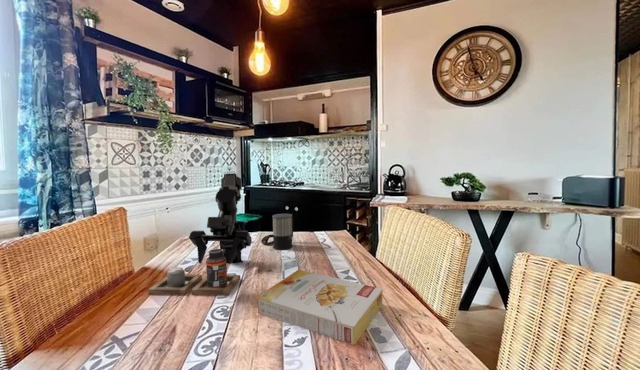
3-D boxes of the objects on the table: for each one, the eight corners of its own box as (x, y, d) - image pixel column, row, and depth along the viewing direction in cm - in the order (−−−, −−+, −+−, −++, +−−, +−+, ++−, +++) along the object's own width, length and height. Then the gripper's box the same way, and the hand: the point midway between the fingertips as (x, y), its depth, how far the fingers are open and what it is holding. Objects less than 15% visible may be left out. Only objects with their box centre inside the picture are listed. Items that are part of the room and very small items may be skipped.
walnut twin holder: (169, 281, 97) (169, 274, 97) (240, 282, 96) (240, 275, 96) (148, 297, 86) (148, 289, 86) (228, 298, 85) (228, 290, 85)
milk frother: (291, 250, 129) (291, 217, 128) (256, 250, 129) (255, 217, 128) (295, 241, 143) (294, 211, 142) (263, 241, 144) (262, 211, 142)
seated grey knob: (173, 282, 94) (172, 266, 94) (188, 282, 94) (187, 266, 93) (164, 289, 89) (163, 272, 89) (180, 289, 89) (179, 272, 88)
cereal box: (298, 268, 94) (383, 285, 80) (298, 284, 94) (383, 304, 81) (255, 295, 76) (356, 324, 63) (256, 315, 77) (356, 348, 63)
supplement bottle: (221, 291, 88) (219, 254, 86) (203, 289, 89) (201, 253, 87) (230, 282, 93) (229, 248, 92) (214, 281, 94) (212, 247, 93)
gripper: (190, 206, 93) (173, 250, 83) (247, 205, 92) (237, 251, 82) (202, 224, 101) (188, 267, 91) (255, 224, 101) (246, 267, 91)
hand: (214, 263), depth 89 cm, fingers open, 9 cm apart
